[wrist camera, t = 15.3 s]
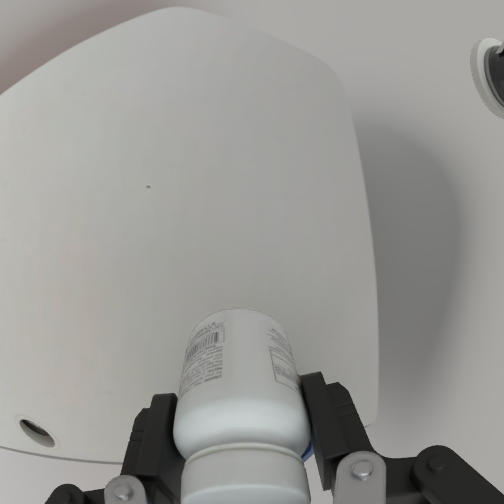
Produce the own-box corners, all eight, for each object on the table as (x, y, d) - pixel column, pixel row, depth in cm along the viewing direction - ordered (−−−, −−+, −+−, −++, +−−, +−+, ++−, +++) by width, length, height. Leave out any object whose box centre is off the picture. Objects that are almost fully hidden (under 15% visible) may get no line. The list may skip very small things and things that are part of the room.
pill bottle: (187, 379, 14) (168, 527, 6) (189, 300, 12) (153, 469, 5) (278, 386, 14) (306, 529, 7) (296, 309, 13) (354, 470, 5)
